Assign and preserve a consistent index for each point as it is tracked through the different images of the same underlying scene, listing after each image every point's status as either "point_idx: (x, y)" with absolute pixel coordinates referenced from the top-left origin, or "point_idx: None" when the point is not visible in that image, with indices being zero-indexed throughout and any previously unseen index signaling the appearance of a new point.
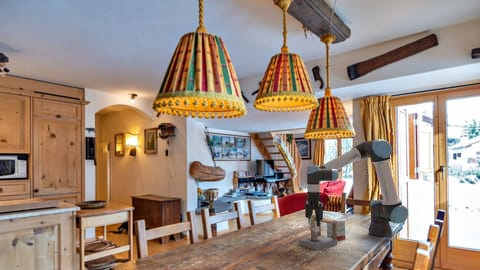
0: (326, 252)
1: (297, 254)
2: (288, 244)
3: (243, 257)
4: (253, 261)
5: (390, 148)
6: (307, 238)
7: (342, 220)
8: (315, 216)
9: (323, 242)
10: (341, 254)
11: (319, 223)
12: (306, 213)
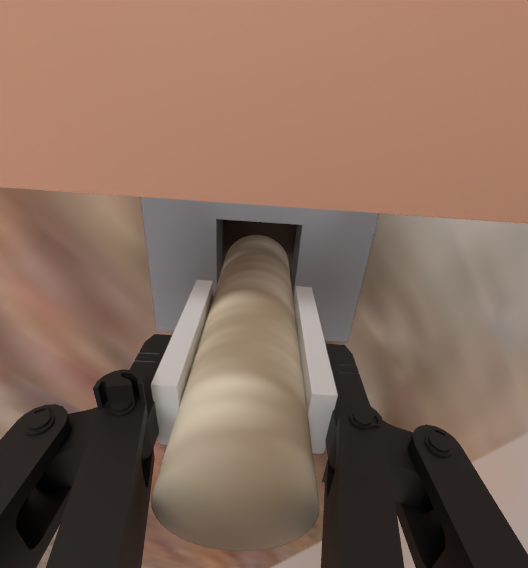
0: (413, 313)
1: None
2: (129, 351)
3: (191, 549)
4: (247, 551)
5: None
6: (173, 258)
7: None
8: (307, 525)
9: (355, 259)
10: (519, 278)
11: (356, 385)
12: (27, 562)
